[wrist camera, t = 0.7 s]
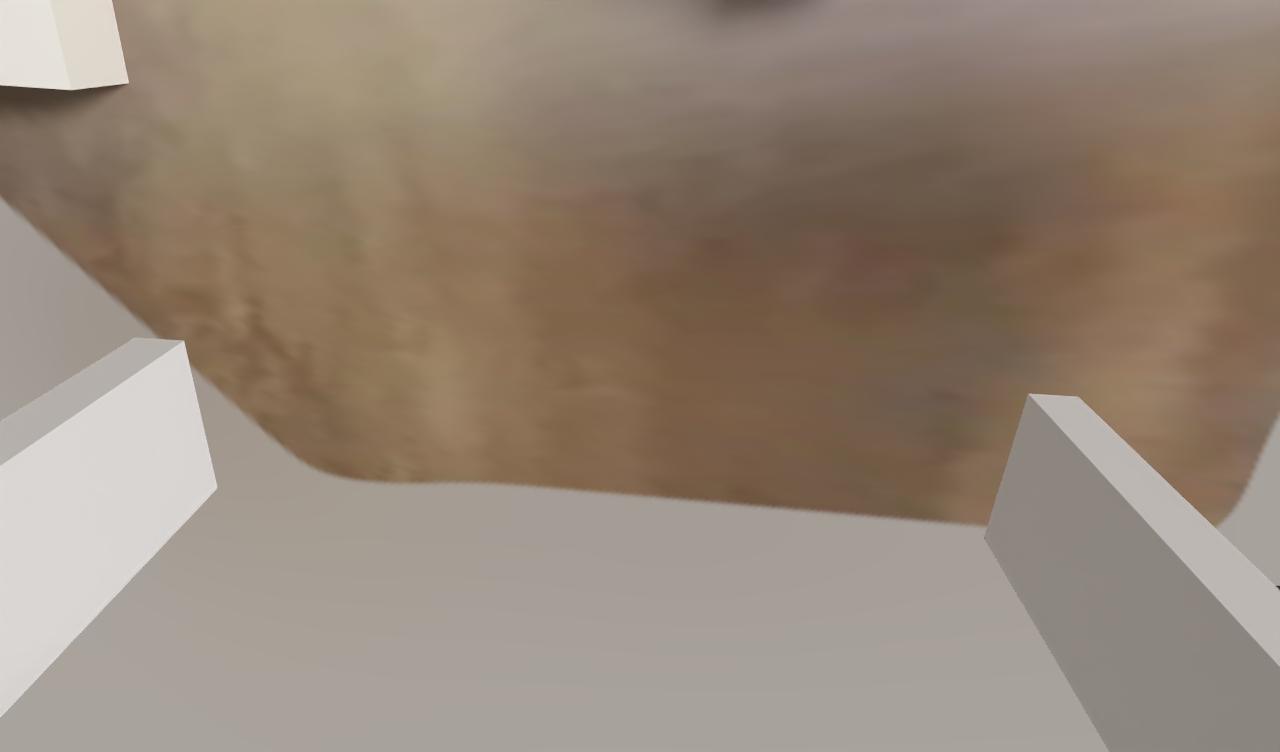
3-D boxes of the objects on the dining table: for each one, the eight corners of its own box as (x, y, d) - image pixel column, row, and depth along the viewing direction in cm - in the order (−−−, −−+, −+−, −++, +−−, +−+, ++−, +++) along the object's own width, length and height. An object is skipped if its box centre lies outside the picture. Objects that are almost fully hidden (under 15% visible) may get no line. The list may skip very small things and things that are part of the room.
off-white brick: (5, 74, 36) (-68, 80, 33) (-27, -45, 34) (-109, -53, 31) (130, 83, 36) (71, 90, 33) (106, -37, 34) (39, -43, 31)
